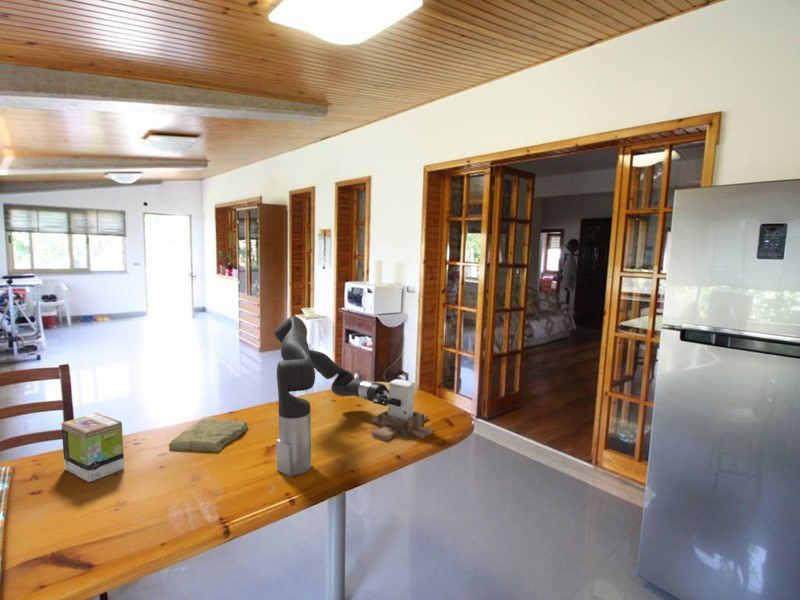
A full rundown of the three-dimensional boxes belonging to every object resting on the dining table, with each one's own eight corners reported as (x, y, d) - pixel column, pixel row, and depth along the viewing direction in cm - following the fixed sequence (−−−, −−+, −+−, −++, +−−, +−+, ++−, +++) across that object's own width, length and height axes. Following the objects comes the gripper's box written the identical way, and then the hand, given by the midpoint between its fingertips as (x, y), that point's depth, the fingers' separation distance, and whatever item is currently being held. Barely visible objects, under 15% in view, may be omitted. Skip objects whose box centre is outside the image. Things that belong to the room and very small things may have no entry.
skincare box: (387, 421, 159) (387, 382, 157) (394, 415, 164) (395, 378, 162) (407, 425, 155) (407, 386, 153) (414, 420, 160) (415, 381, 158)
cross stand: (405, 448, 142) (405, 434, 142) (353, 430, 157) (353, 417, 156) (447, 424, 163) (447, 412, 162) (397, 410, 177) (397, 398, 177)
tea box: (126, 468, 128) (123, 421, 127) (88, 483, 120) (84, 433, 118) (100, 456, 136) (97, 411, 134) (63, 469, 127) (59, 421, 126)
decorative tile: (168, 450, 141) (167, 440, 140) (202, 426, 161) (201, 417, 160) (222, 453, 139) (221, 443, 138) (250, 428, 159) (249, 419, 158)
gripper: (359, 386, 161) (394, 396, 151) (384, 378, 173) (418, 386, 162) (359, 405, 162) (394, 416, 152) (384, 396, 173) (417, 405, 163)
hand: (406, 401), depth 157 cm, fingers closed on skincare box, 6 cm apart
